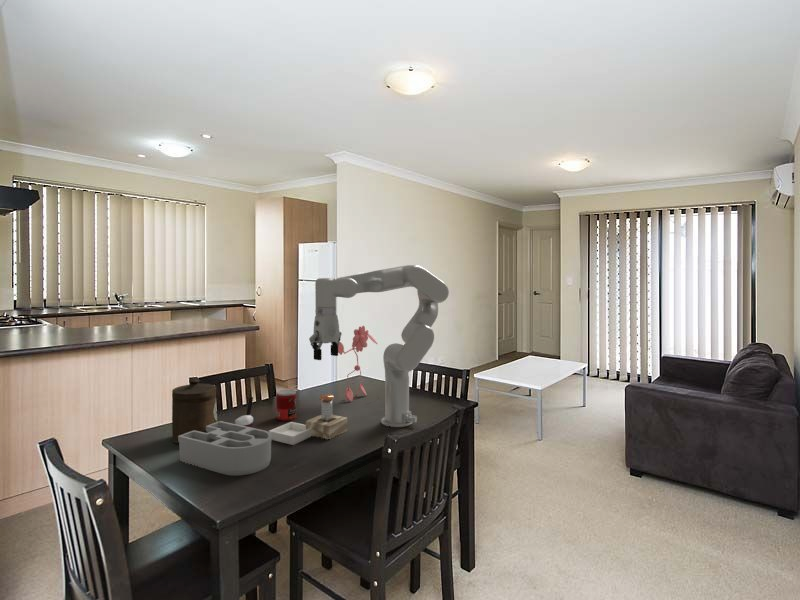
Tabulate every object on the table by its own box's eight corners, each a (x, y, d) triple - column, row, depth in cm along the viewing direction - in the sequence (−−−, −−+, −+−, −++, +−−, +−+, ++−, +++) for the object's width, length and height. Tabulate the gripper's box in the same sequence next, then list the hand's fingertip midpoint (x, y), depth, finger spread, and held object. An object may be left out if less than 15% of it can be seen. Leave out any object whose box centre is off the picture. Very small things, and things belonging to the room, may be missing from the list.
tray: (315, 434, 169) (314, 426, 169) (293, 445, 159) (293, 436, 159) (291, 429, 175) (291, 421, 175) (268, 439, 165) (268, 430, 165)
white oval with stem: (238, 438, 167) (237, 406, 165) (229, 433, 171) (227, 402, 169) (261, 430, 174) (260, 399, 173) (251, 426, 178) (250, 396, 177)
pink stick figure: (330, 403, 209) (331, 327, 207) (365, 391, 231) (366, 322, 228) (356, 409, 201) (357, 330, 198) (390, 396, 222) (391, 325, 220)
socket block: (347, 430, 174) (347, 417, 174) (329, 439, 164) (329, 426, 164) (324, 425, 179) (324, 413, 179) (305, 434, 170) (305, 421, 169)
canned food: (291, 421, 184) (291, 394, 183) (273, 420, 186) (272, 393, 185) (299, 416, 191) (299, 390, 191) (281, 414, 193) (281, 389, 192)
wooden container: (226, 435, 169) (224, 376, 168) (189, 448, 156) (188, 384, 155) (200, 428, 176) (198, 371, 175) (163, 440, 164) (161, 379, 162)
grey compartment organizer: (220, 445, 160) (220, 420, 159) (282, 460, 147) (282, 434, 146) (178, 462, 145) (177, 436, 144) (243, 481, 132) (242, 452, 132)
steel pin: (336, 431, 173) (336, 395, 172) (328, 435, 168) (327, 398, 167) (325, 429, 175) (325, 393, 174) (317, 433, 171) (316, 396, 170)
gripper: (318, 313, 160) (318, 362, 161) (348, 310, 175) (348, 354, 176) (302, 312, 164) (302, 360, 165) (332, 309, 179) (332, 353, 180)
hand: (326, 357), depth 170 cm, fingers open, 9 cm apart
